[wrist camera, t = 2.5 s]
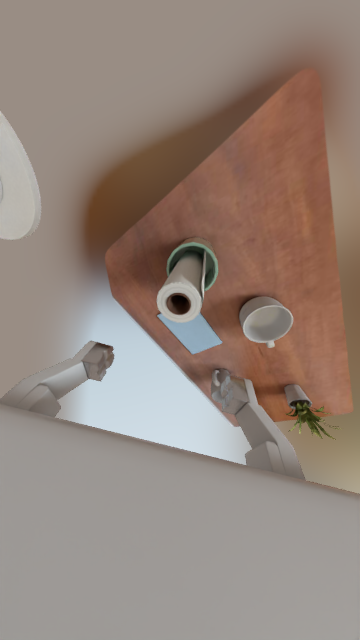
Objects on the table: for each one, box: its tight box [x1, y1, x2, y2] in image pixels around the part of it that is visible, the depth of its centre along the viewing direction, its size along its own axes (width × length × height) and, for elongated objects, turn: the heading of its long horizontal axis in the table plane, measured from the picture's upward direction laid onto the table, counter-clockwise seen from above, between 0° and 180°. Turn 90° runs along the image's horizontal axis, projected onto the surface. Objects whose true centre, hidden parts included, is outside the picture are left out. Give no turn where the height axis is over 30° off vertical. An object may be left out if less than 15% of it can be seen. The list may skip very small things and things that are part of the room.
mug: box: [211, 369, 230, 403], centre depth 54 cm, size 12×9×10 cm
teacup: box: [239, 297, 293, 348], centre depth 39 cm, size 14×11×8 cm
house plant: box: [284, 384, 336, 439], centre depth 51 cm, size 14×14×16 cm
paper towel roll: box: [157, 249, 206, 323], centre depth 28 cm, size 7×6×21 cm
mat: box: [157, 312, 222, 355], centre depth 48 cm, size 20×12×1 cm, turn 37°
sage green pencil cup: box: [166, 237, 218, 292], centre depth 33 cm, size 10×10×9 cm
